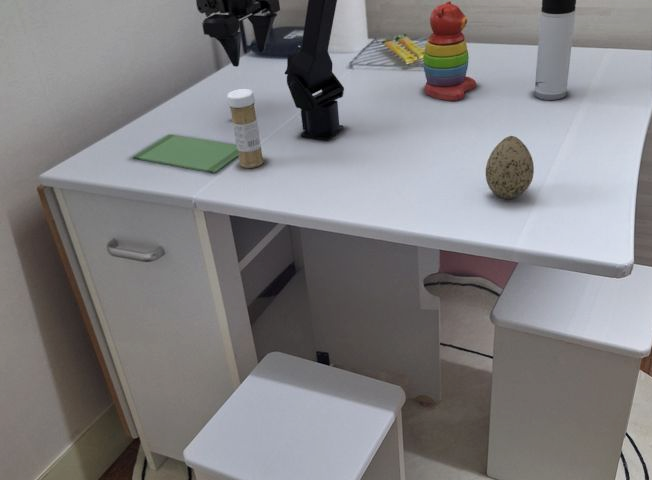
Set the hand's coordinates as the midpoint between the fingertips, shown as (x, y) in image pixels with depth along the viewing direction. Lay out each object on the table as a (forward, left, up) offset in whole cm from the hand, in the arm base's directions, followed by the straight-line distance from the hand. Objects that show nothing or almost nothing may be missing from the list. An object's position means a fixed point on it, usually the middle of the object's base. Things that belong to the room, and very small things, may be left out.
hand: (249, 58), depth 140 cm
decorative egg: (-59, +17, -12) cm, 63 cm away
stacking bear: (-33, -24, -12) cm, 43 cm away
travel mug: (-54, -27, -12) cm, 62 cm away
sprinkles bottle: (-12, +20, -12) cm, 27 cm away
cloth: (+2, +20, -12) cm, 24 cm away
